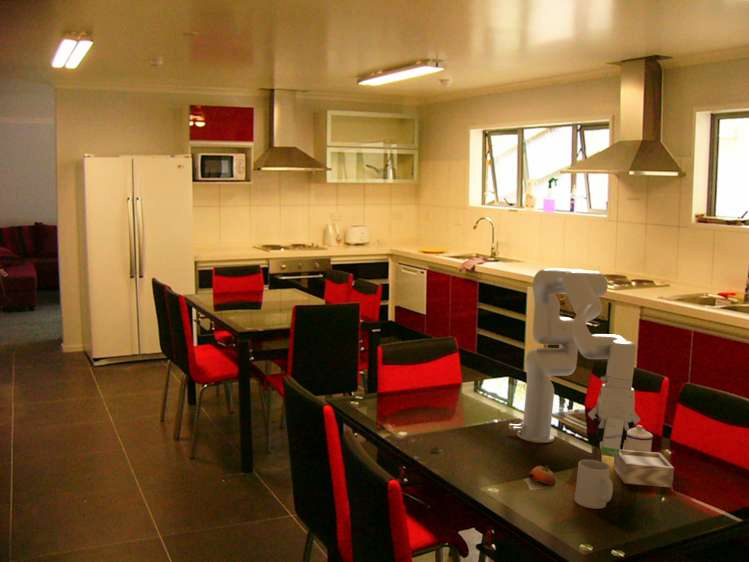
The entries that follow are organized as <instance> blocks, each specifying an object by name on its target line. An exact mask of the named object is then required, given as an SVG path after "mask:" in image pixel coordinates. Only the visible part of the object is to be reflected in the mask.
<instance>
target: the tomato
mask: <svg viewBox="0 0 749 562" xmlns="http://www.w3.org/2000/svg"><path fill="white" fill-rule="evenodd" d="M528 475H529V479H530V480H532V481H533V482H541V483H543V484H547V485H551V486H552V487H554V486H555V485H556V483H557V482H556V481H557V479H556V476H555V473H554V472H553V471H551V470H550V467H549V466H548V465H546V466H542V465H537V466H535V467H533V468H532V470H530V472H529V473H528Z"/></svg>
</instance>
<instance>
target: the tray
mask: <svg viewBox="0 0 749 562" xmlns="http://www.w3.org/2000/svg"><path fill="white" fill-rule="evenodd" d="M613 459H614V460H613V469H614V470H615V472H616V473H617V475H618V476H619V478H620V479H621V481H622V482H623V484H628V485H629V484H630V485H639V486H652V487H660V488H661V487H664V488H673V481H674V473H675V467H674V466H673V465H672V464H671V463H670V462H669V461H668V459H667V458H666V457H665V456H664V455H663V454H662V453H661V452H652V451H651V452H644V451H632V450H623V449H621V448H620V450H619V457H618V458H617V457H613Z"/></svg>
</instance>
